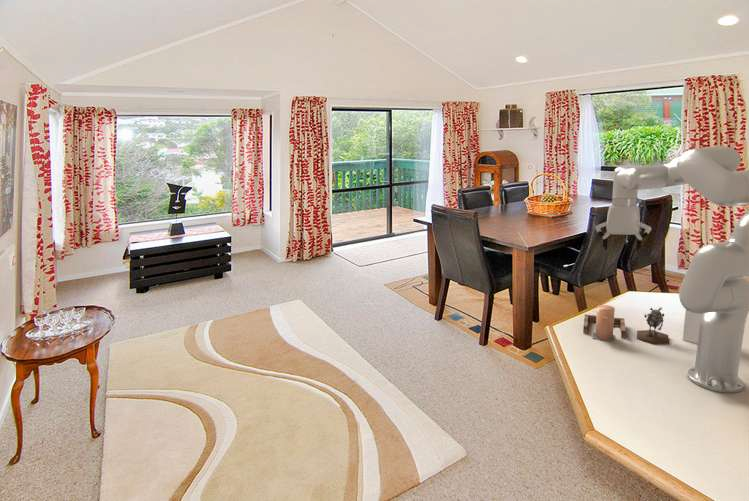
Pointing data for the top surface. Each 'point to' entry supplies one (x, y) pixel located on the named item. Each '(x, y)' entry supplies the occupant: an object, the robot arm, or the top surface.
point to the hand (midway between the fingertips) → (621, 249)
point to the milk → (691, 326)
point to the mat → (601, 339)
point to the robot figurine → (652, 335)
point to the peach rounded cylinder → (605, 322)
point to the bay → (592, 319)
